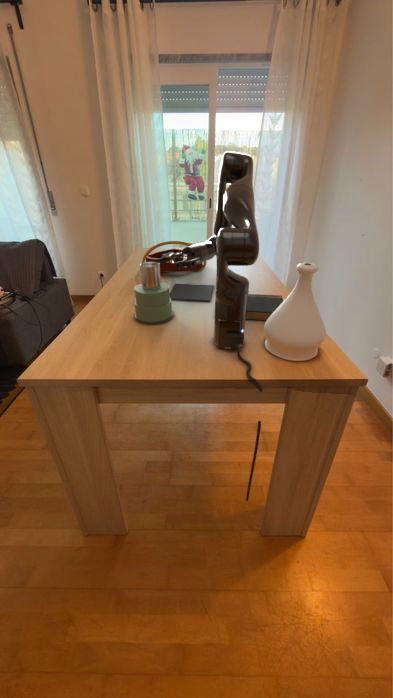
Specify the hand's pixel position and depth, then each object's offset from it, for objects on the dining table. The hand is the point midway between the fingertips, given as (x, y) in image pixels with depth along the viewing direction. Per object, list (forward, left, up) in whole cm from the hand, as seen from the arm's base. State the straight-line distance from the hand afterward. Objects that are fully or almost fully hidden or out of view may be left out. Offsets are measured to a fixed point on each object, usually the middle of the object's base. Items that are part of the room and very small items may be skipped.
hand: (166, 264), depth 101 cm
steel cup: (-7, +4, -6) cm, 10 cm away
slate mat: (+18, -6, -17) cm, 26 cm away
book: (+3, -31, -18) cm, 36 cm away
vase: (-22, -43, -18) cm, 51 cm away
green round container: (-7, +4, -17) cm, 19 cm away
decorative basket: (+50, +8, -18) cm, 53 cm away
